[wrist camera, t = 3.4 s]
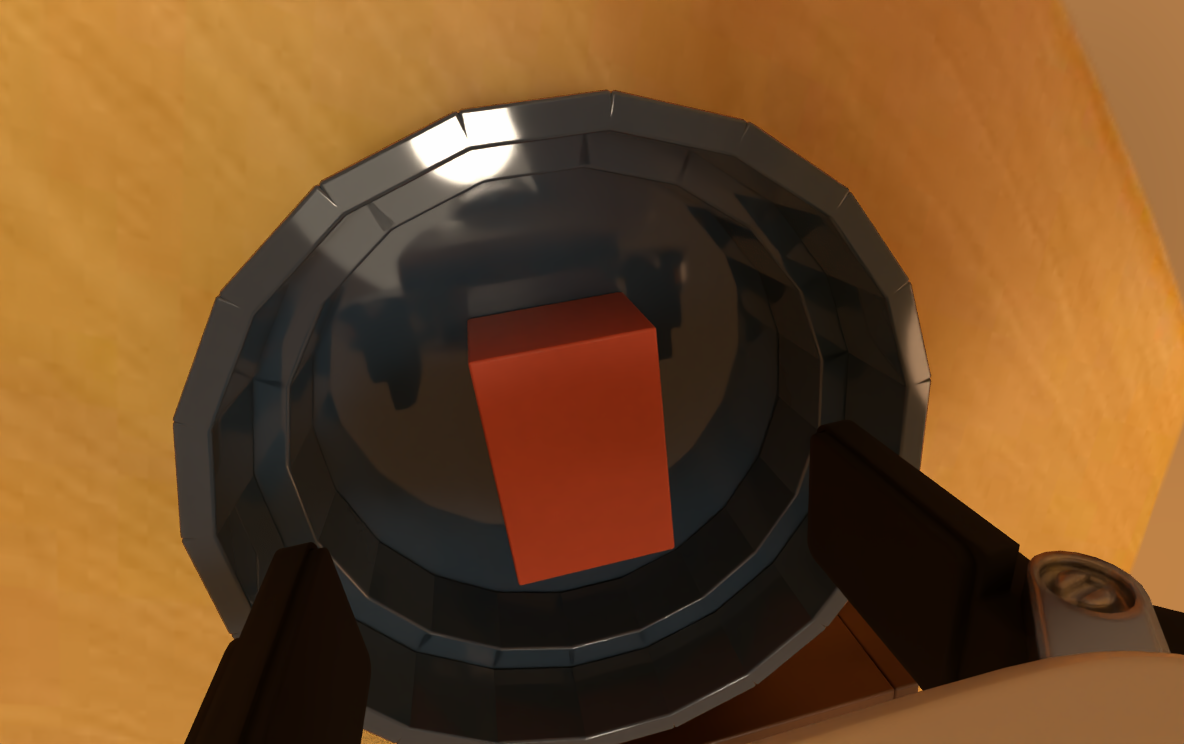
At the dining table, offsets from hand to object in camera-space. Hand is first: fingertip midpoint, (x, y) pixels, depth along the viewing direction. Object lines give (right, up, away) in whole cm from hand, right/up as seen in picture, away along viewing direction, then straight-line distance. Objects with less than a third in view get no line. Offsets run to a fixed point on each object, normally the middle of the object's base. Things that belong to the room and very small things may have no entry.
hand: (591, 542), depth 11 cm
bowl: (-1, +2, +5) cm, 6 cm away
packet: (-1, +2, +5) cm, 5 cm away
